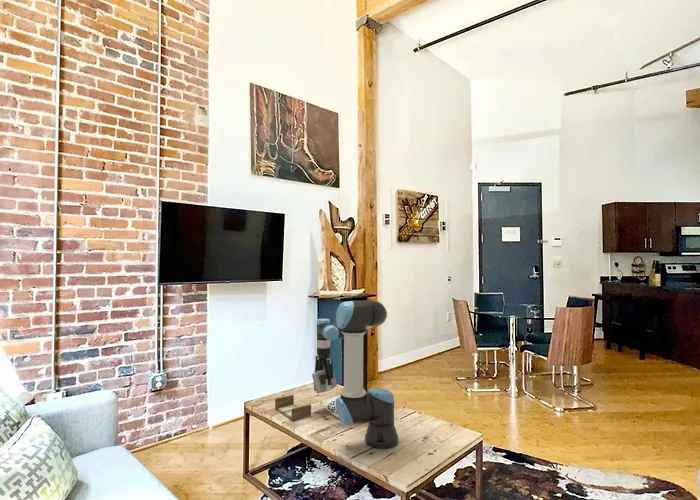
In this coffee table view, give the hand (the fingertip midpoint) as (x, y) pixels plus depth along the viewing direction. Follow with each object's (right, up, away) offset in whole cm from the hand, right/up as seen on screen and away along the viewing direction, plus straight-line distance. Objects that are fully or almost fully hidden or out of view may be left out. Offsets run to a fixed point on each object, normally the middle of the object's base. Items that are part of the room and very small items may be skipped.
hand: (324, 388), depth 224 cm
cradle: (-17, -12, -2) cm, 21 cm away
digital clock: (0, -1, -1) cm, 1 cm away
